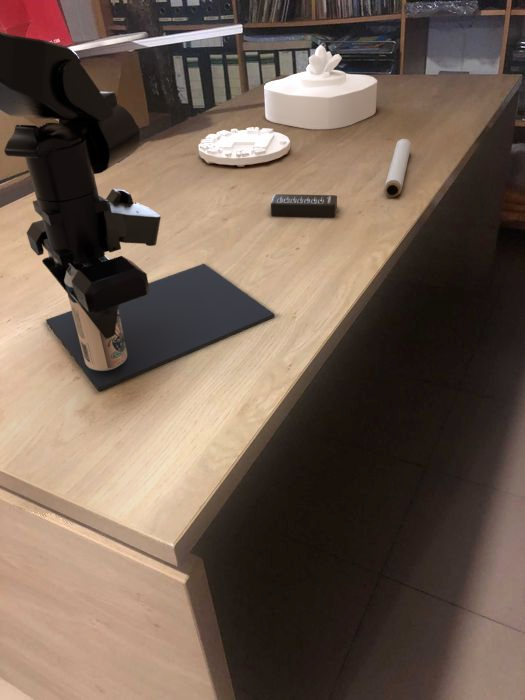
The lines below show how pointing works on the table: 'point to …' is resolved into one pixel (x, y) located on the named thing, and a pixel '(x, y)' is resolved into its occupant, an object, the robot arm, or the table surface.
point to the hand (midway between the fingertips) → (100, 326)
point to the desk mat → (169, 322)
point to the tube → (398, 168)
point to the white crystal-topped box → (321, 96)
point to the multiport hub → (304, 205)
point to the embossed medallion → (243, 146)
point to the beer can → (96, 336)
